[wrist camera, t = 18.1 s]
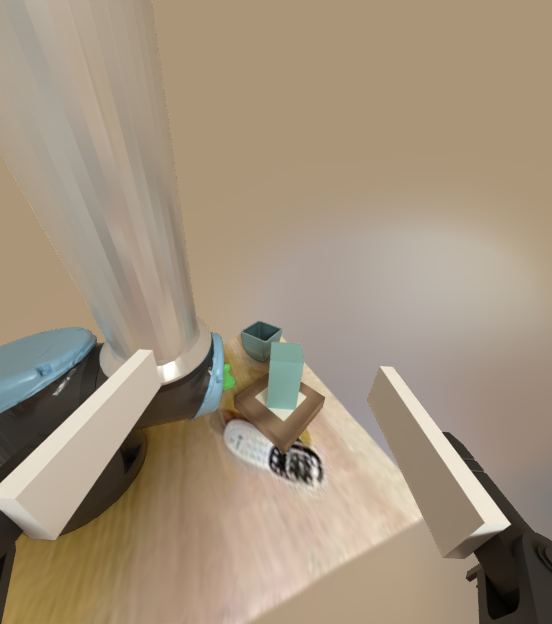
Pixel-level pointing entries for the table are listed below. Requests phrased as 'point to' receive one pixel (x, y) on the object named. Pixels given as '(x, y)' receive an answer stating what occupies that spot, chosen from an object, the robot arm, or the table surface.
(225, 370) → the game piece
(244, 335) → the flower pot
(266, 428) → the walnut base
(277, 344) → the teal pillar block
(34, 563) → the table surface
